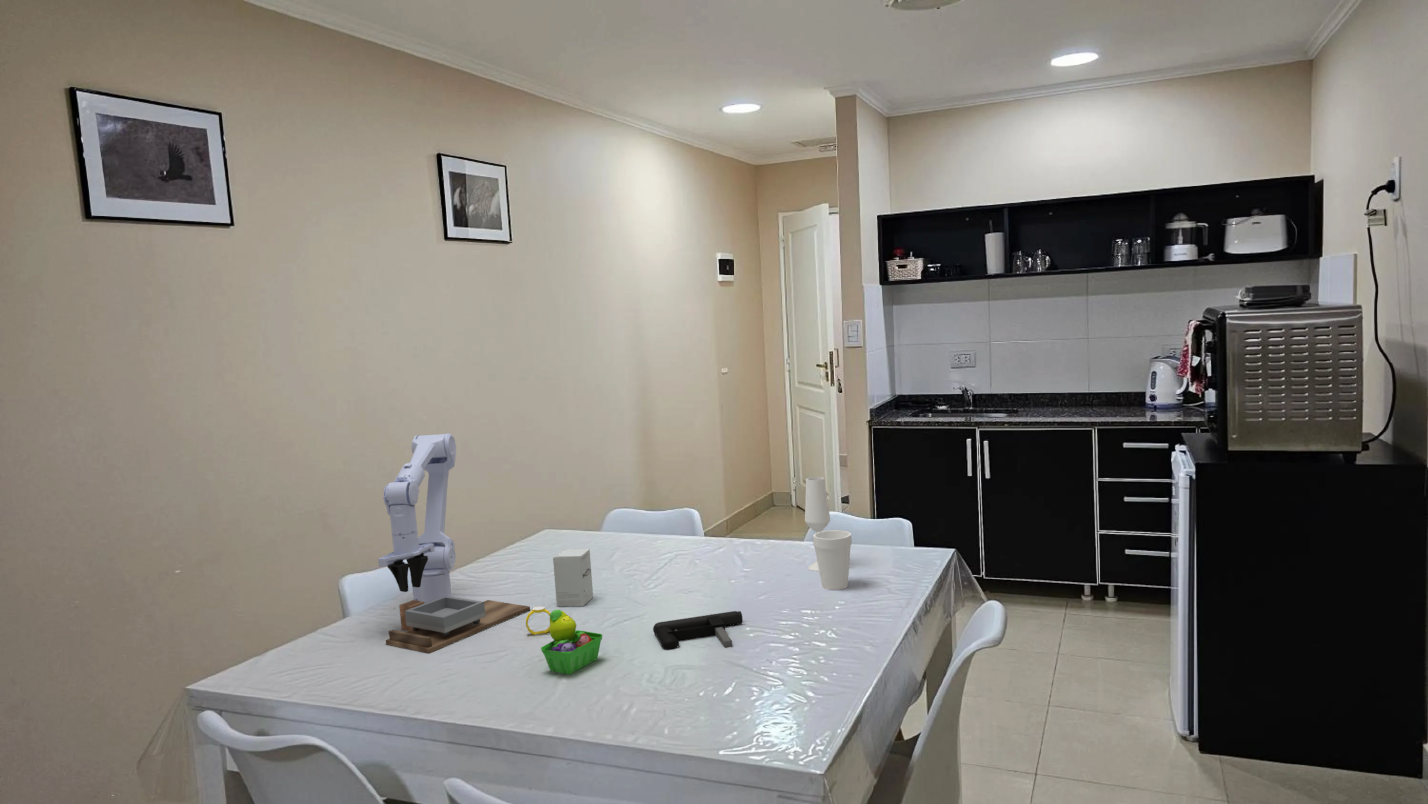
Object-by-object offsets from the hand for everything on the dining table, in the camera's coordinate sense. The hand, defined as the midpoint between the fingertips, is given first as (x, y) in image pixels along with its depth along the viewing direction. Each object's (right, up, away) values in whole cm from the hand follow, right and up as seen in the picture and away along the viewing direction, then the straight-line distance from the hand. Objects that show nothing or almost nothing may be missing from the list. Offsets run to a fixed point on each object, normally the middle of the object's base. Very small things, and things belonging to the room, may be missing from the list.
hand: (410, 588), depth 219 cm
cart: (+10, -8, -4) cm, 13 cm away
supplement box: (+37, -6, +13) cm, 40 cm away
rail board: (+12, -9, -1) cm, 15 cm away
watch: (+32, -8, -9) cm, 35 cm away
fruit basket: (+43, -10, -30) cm, 53 cm away
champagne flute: (+100, 0, +29) cm, 104 cm away
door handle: (+69, -7, -19) cm, 72 cm away
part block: (+1, -9, +1) cm, 10 cm away
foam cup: (+101, -2, +11) cm, 102 cm away
